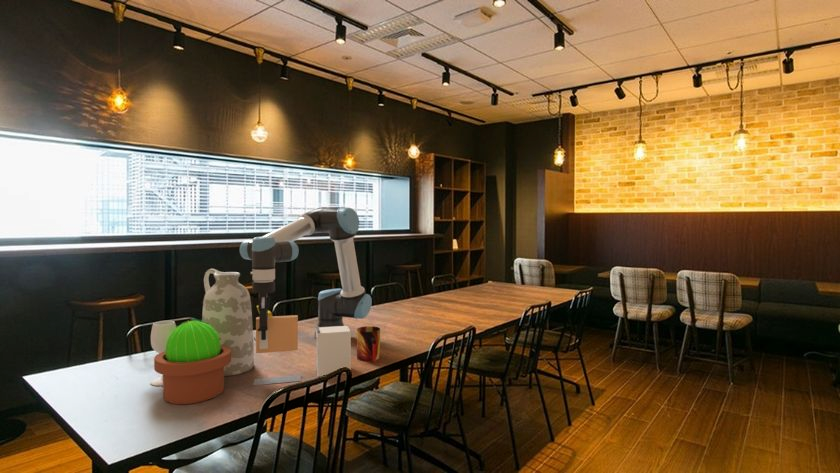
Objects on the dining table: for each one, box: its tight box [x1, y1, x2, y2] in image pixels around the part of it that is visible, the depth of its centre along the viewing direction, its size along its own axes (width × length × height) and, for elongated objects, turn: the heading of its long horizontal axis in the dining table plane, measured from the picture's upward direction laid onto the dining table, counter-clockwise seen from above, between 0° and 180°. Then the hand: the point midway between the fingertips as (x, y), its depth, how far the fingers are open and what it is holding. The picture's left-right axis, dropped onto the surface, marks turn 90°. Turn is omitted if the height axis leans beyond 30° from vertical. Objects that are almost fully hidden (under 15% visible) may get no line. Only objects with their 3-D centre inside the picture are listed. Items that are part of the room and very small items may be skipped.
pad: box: [253, 374, 302, 387], centre depth 160 cm, size 6×16×1 cm, turn 107°
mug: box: [356, 325, 381, 363], centre depth 186 cm, size 10×14×12 cm
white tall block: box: [315, 325, 352, 378], centre depth 170 cm, size 9×12×17 cm
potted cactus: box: [153, 318, 231, 405], centre depth 147 cm, size 22×22×25 cm
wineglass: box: [150, 320, 177, 387], centre depth 158 cm, size 9×9×21 cm
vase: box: [201, 268, 255, 377], centre depth 172 cm, size 20×19×38 cm
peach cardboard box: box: [255, 314, 299, 354], centre depth 159 cm, size 3×14×12 cm, turn 107°
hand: (263, 347), depth 158 cm, fingers closed on peach cardboard box, 3 cm apart
